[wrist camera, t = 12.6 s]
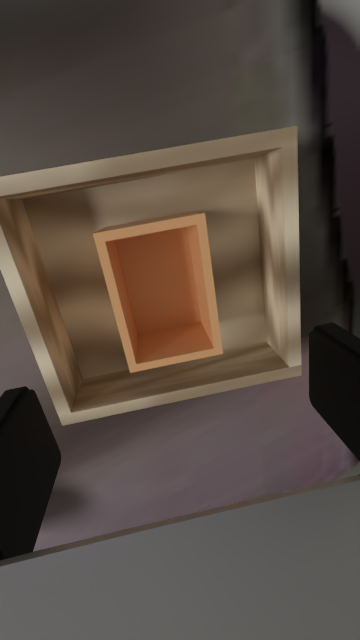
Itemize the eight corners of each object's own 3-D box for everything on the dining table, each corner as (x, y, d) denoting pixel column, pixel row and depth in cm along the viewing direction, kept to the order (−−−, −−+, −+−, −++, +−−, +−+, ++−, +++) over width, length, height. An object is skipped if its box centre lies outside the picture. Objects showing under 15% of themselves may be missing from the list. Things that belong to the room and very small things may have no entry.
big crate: (9, 188, 23) (-35, 182, 17) (261, 144, 24) (297, 125, 18) (77, 384, 30) (62, 425, 24) (272, 344, 30) (301, 374, 25)
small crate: (104, 227, 24) (92, 233, 18) (190, 211, 24) (205, 212, 18) (132, 339, 27) (130, 372, 22) (206, 324, 28) (223, 353, 22)
